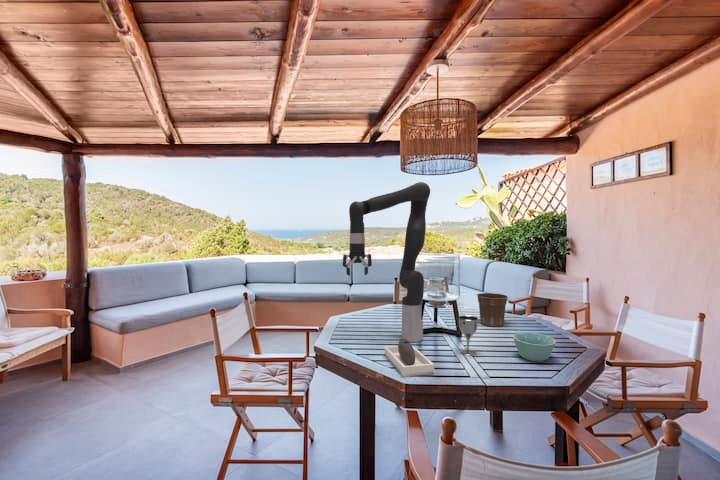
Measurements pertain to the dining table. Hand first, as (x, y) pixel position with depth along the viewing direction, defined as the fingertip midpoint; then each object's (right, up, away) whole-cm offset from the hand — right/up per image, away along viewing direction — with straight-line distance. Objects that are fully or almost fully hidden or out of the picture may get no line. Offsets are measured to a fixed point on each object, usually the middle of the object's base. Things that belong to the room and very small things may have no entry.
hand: (357, 275), depth 172 cm
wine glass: (+48, -31, -22) cm, 61 cm away
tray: (+20, -31, -35) cm, 51 cm away
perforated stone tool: (+20, -31, -35) cm, 51 cm away
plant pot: (+75, -30, +22) cm, 84 cm away
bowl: (+73, -31, -28) cm, 84 cm away
